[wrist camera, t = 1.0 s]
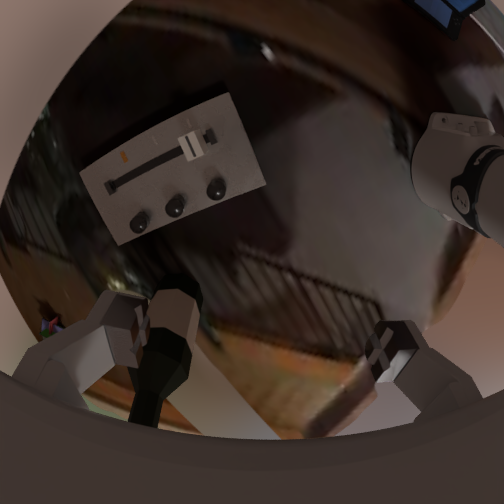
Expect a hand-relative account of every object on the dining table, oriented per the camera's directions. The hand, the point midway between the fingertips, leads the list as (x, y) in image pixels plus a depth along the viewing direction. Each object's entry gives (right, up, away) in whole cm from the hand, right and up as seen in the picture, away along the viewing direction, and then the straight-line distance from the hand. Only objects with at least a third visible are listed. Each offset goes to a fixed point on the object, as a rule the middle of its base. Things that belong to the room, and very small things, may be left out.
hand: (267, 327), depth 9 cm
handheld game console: (+29, +43, +12) cm, 53 cm away
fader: (-7, +16, +23) cm, 29 cm away
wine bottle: (-13, -4, +37) cm, 39 cm away
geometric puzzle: (-45, -14, +41) cm, 63 cm away
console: (-12, +14, +27) cm, 32 cm away
